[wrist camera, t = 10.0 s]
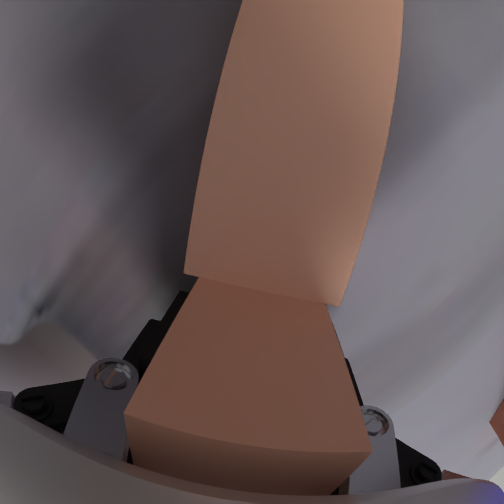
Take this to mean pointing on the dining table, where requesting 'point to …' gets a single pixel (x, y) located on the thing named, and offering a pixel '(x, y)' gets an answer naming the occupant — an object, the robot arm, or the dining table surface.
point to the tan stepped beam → (275, 256)
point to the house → (499, 422)
